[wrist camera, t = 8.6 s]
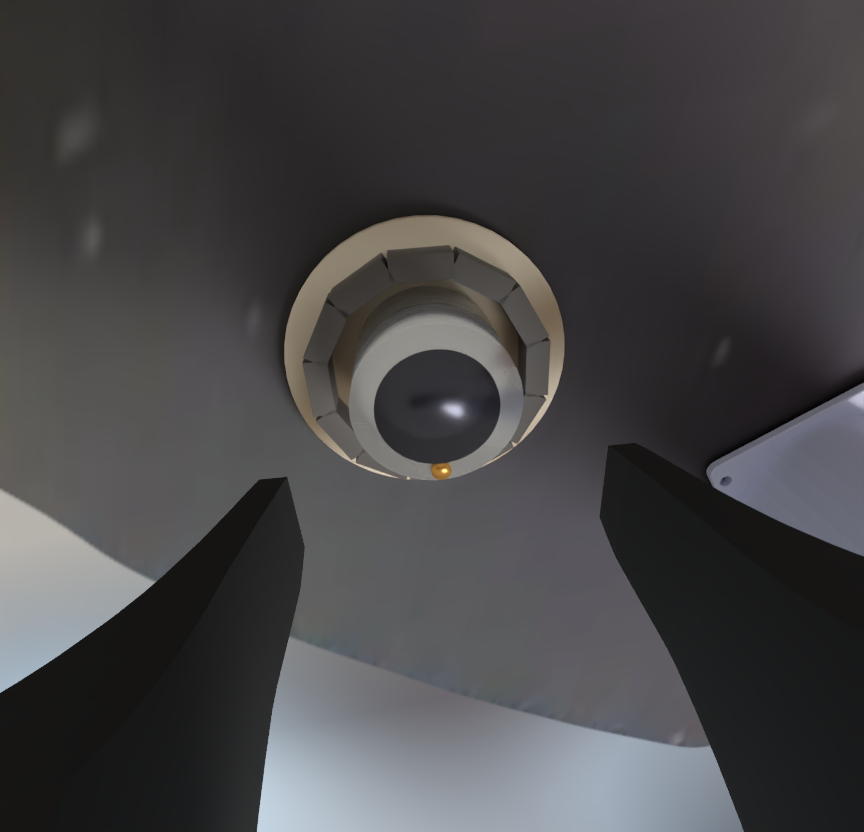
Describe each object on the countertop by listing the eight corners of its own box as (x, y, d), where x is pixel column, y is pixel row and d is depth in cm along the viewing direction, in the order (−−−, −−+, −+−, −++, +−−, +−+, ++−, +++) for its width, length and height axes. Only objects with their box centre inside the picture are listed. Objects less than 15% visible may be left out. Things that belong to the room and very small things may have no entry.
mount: (602, 387, 20) (621, 408, 18) (395, 509, 22) (395, 538, 20) (470, 146, 15) (479, 147, 14) (226, 328, 17) (210, 346, 16)
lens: (496, 279, 17) (527, 318, 13) (496, 411, 19) (522, 474, 16) (346, 292, 17) (335, 334, 13) (365, 423, 19) (360, 490, 15)
